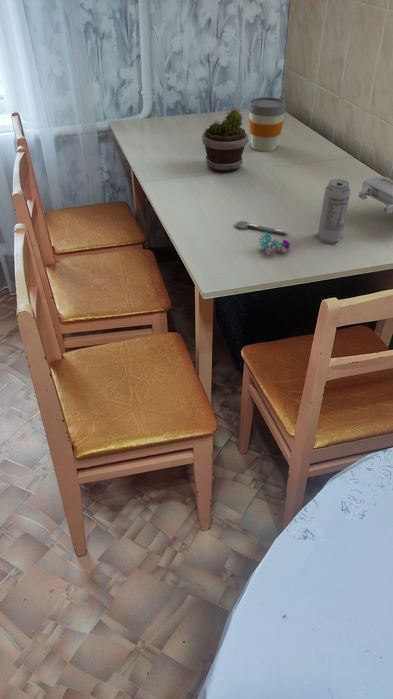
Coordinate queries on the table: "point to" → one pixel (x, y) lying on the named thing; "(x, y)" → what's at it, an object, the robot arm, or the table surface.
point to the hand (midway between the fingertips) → (372, 202)
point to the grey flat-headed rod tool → (258, 227)
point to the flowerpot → (225, 143)
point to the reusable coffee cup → (265, 122)
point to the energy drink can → (334, 210)
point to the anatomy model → (268, 249)
